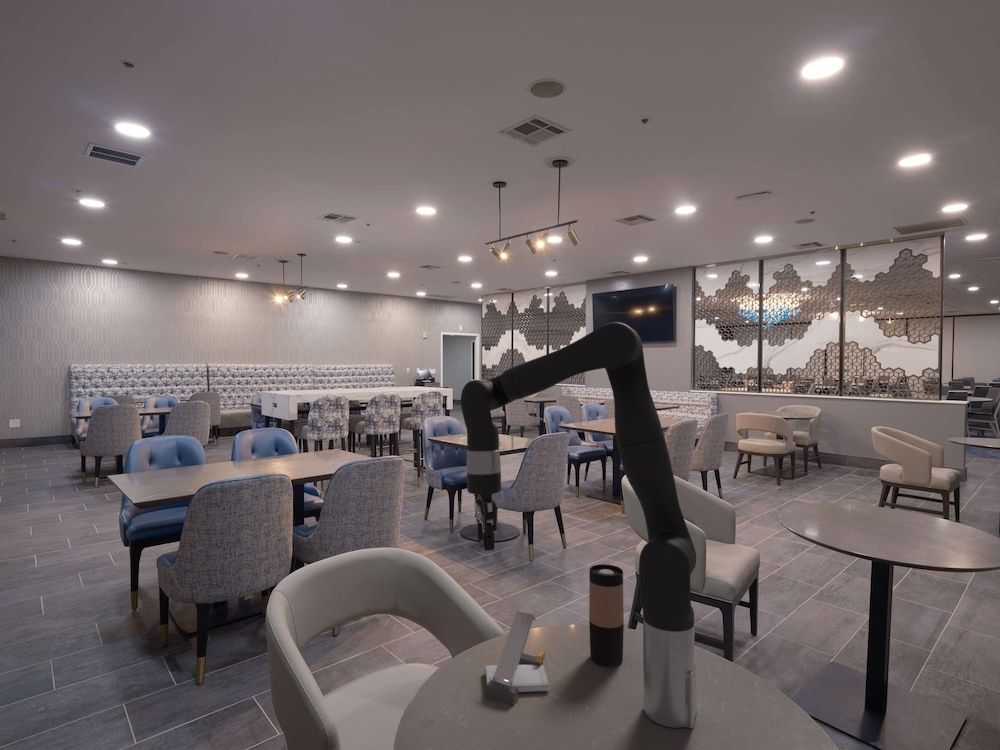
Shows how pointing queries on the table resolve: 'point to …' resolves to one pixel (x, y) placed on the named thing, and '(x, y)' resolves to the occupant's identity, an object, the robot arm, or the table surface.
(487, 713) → the table surface
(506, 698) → the bracket
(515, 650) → the grey flat bar
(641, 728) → the table surface
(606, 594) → the travel mug
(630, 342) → the robot arm
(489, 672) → the hard drive
